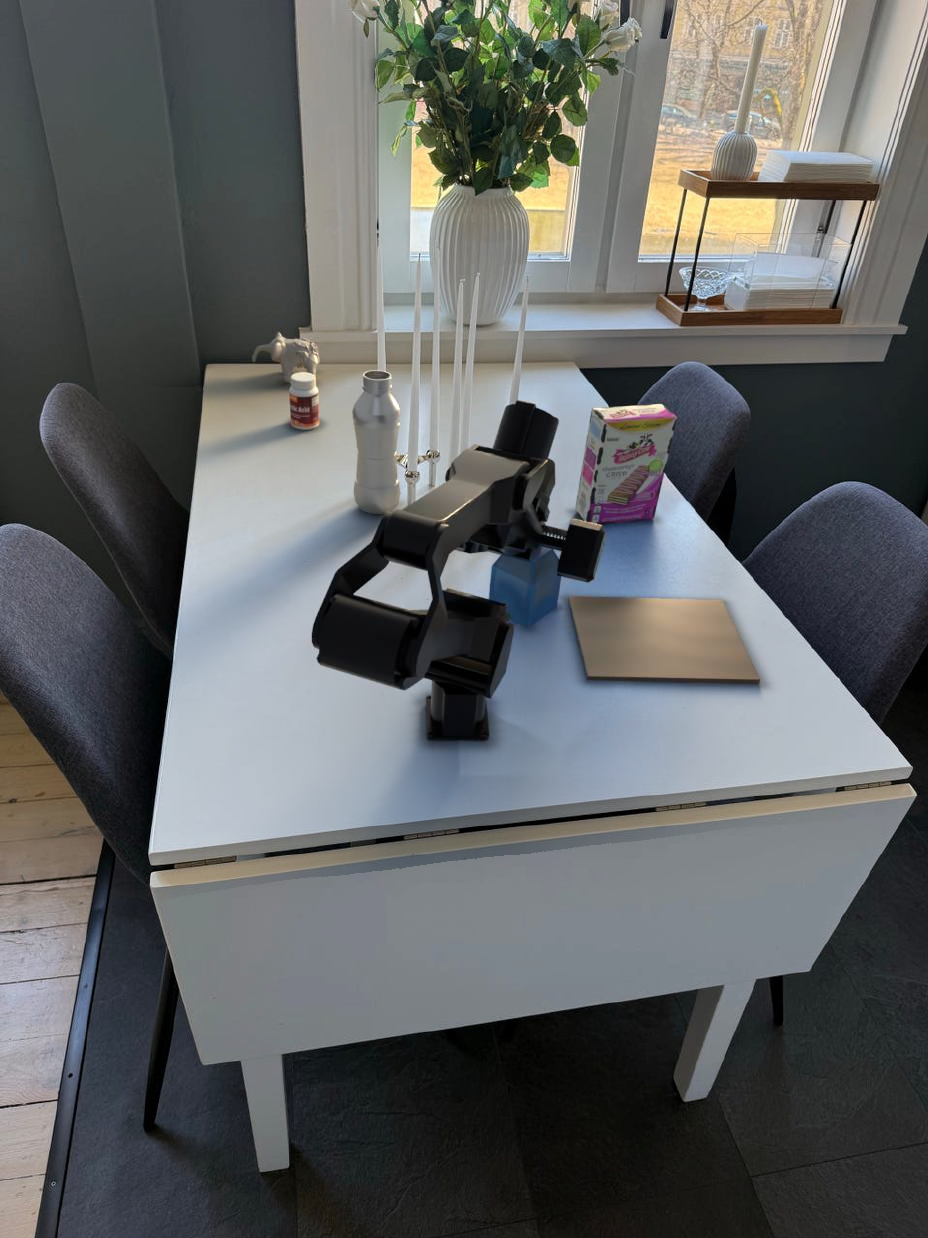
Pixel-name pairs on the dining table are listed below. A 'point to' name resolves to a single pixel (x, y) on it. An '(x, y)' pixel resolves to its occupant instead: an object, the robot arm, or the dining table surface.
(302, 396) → the pill bottle
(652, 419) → the candy bar box
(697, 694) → the dining table surface
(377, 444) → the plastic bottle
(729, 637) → the walnut board
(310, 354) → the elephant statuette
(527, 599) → the perfume bottle
